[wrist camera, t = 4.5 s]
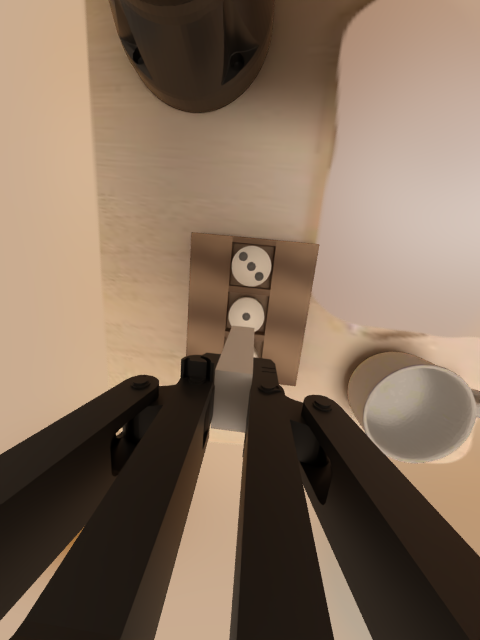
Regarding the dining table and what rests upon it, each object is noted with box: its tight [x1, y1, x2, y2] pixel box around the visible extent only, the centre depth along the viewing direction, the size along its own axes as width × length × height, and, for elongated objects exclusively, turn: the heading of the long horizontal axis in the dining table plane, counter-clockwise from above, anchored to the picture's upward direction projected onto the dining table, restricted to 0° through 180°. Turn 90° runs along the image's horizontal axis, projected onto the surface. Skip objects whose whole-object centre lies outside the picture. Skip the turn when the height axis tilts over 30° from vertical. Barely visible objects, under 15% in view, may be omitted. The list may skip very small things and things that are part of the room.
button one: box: [229, 296, 264, 332], centre depth 27 cm, size 4×4×3 cm
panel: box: [186, 232, 319, 386], centre depth 29 cm, size 17×14×2 cm
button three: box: [232, 246, 271, 286], centre depth 25 cm, size 4×4×3 cm
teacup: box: [348, 352, 480, 463], centre depth 27 cm, size 14×11×8 cm
